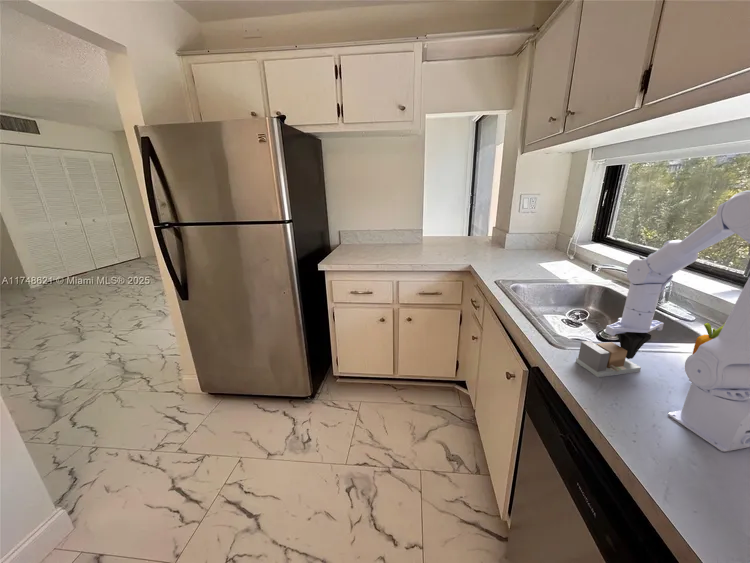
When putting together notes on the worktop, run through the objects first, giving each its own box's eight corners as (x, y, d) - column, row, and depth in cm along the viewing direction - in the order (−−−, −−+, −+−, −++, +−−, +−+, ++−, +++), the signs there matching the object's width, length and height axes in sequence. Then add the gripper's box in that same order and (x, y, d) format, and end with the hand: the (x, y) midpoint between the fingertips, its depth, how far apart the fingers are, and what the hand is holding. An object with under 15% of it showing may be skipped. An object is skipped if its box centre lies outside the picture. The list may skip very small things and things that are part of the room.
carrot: (683, 380, 74) (702, 323, 69) (684, 371, 77) (703, 316, 72) (713, 389, 70) (736, 330, 66) (713, 379, 74) (734, 322, 69)
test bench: (640, 371, 77) (646, 349, 75) (597, 377, 76) (603, 355, 74) (615, 356, 84) (620, 336, 82) (575, 361, 82) (579, 340, 80)
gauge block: (630, 370, 76) (635, 355, 74) (610, 373, 75) (614, 357, 74) (608, 356, 82) (611, 342, 80) (589, 359, 81) (592, 344, 80)
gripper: (648, 299, 80) (636, 345, 85) (599, 304, 78) (589, 351, 82) (678, 310, 74) (662, 359, 78) (625, 315, 72) (612, 366, 76)
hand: (626, 356), depth 80 cm, fingers closed
